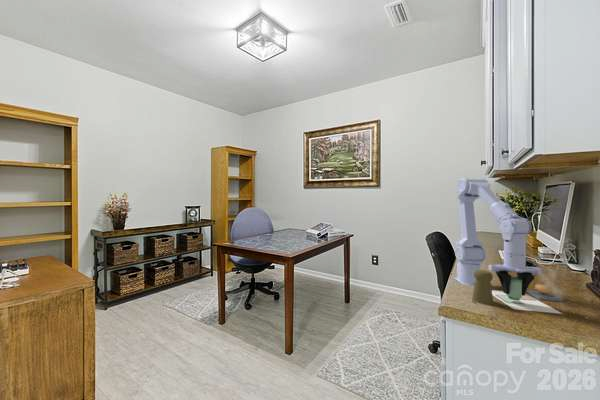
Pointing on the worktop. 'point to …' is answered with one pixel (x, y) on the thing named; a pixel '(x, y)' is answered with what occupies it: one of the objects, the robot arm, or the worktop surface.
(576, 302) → the worktop surface
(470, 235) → the robot arm
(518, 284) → the green cylinder
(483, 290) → the olive brown cylinder
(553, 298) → the button pad
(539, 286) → the button
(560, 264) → the worktop surface
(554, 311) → the picture card
